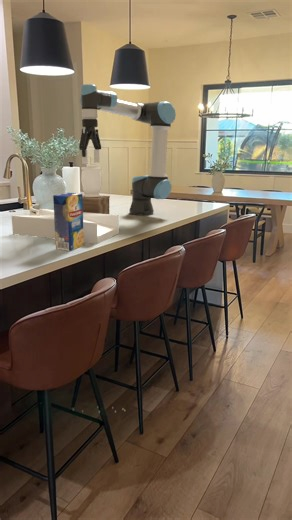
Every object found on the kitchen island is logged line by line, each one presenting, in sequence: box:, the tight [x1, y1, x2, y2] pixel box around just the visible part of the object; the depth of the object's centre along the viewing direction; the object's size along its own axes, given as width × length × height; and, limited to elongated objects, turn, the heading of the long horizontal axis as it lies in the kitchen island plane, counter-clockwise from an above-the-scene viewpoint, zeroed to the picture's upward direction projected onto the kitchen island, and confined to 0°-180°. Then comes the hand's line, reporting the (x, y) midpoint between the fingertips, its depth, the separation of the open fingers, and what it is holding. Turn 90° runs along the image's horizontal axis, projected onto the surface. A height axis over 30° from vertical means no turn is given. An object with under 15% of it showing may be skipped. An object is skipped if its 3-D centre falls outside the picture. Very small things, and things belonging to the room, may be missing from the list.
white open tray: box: [11, 208, 120, 244], centre depth 195 cm, size 45×22×10 cm, turn 69°
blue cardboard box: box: [52, 192, 85, 252], centre depth 169 cm, size 7×11×22 cm, turn 157°
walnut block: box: [82, 194, 111, 214], centre depth 213 cm, size 14×14×15 cm
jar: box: [80, 166, 103, 198], centre depth 210 cm, size 11×10×15 cm
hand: (91, 163), depth 207 cm, fingers open, 13 cm apart
